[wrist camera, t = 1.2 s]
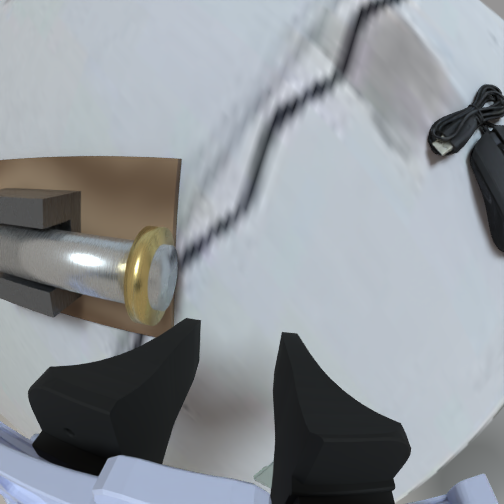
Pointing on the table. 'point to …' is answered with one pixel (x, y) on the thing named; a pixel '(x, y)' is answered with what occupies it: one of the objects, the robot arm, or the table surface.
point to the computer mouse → (479, 151)
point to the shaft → (97, 265)
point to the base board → (108, 211)
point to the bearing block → (39, 216)
